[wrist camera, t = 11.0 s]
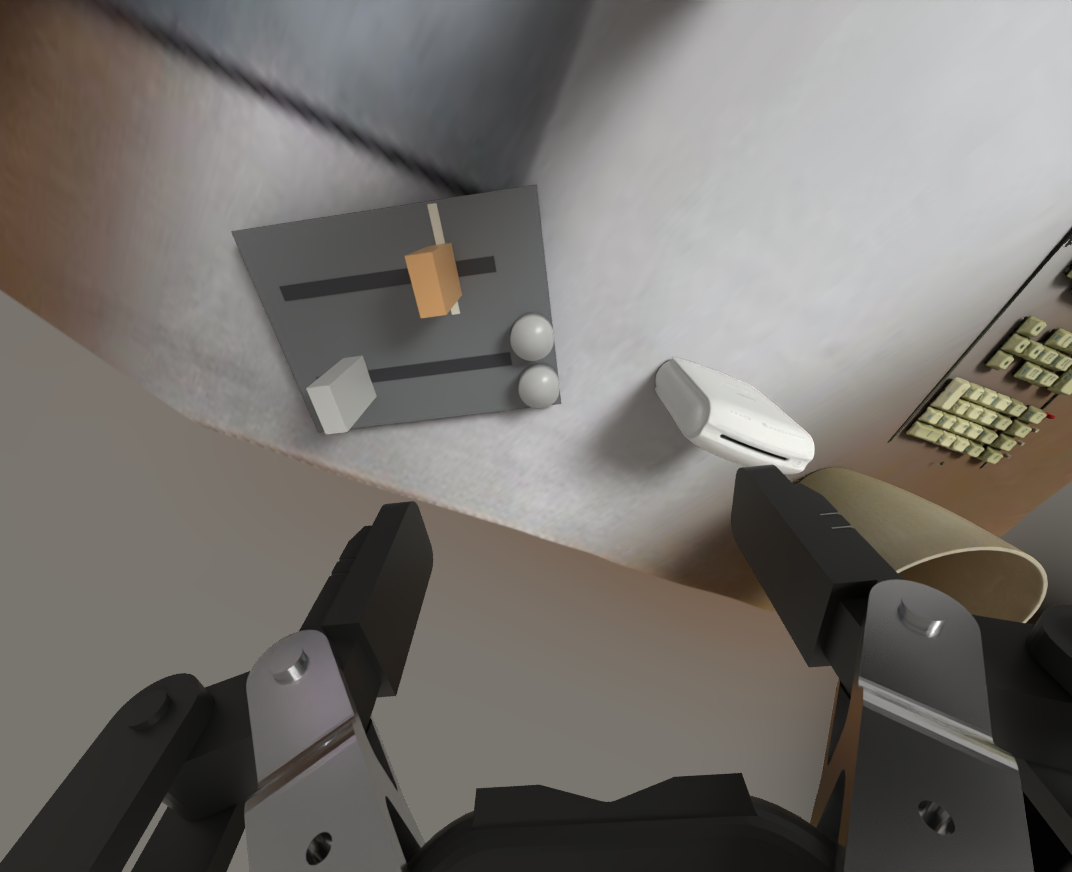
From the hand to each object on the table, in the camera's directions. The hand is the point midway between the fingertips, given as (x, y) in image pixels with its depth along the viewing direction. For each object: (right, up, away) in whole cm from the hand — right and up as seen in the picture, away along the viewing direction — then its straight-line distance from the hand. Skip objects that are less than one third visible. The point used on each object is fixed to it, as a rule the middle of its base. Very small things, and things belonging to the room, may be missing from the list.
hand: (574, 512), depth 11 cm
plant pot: (+31, -5, +37) cm, 49 cm away
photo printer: (+15, +7, +31) cm, 35 cm away
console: (-12, +12, +28) cm, 32 cm away
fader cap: (-8, +15, +23) cm, 29 cm away
